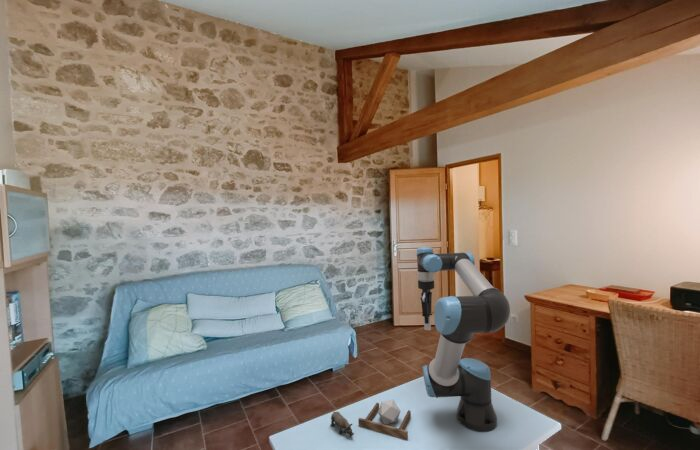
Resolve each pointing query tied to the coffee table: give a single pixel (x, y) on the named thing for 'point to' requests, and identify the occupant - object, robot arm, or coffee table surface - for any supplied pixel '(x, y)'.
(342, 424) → the rhino figurine
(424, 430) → the coffee table surface
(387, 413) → the die
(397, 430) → the frame
